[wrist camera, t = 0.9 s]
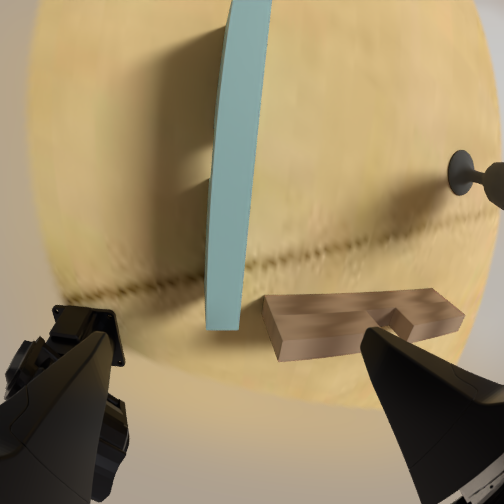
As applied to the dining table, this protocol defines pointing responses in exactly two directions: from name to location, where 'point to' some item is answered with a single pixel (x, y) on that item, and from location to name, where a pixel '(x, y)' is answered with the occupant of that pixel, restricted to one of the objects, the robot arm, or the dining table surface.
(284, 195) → the dining table surface
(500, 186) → the sundae
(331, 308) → the walnut slotted plate
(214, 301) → the teal slotted plate
